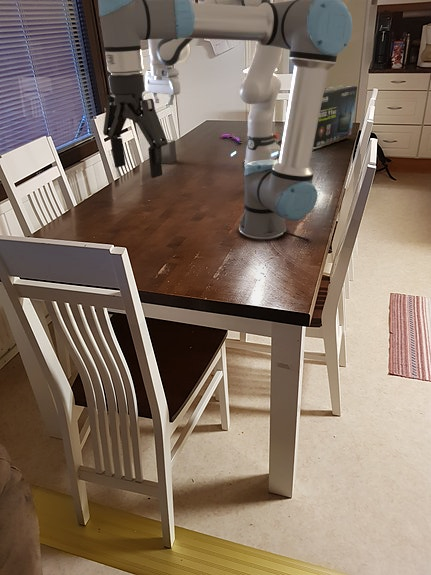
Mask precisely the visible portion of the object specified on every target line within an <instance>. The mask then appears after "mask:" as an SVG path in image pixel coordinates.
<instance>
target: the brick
mask: <svg viewBox="0 0 431 575" xmlns="http://www.w3.org/2000/svg"><path fill="white" fill-rule="evenodd" d="M166 139H167V142H168V144H167V145H164V146H162V147H161V153H162V162H161V164H167V165H173V164H174V163H176V162H177V147H176V139H171V138H166Z"/></svg>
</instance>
